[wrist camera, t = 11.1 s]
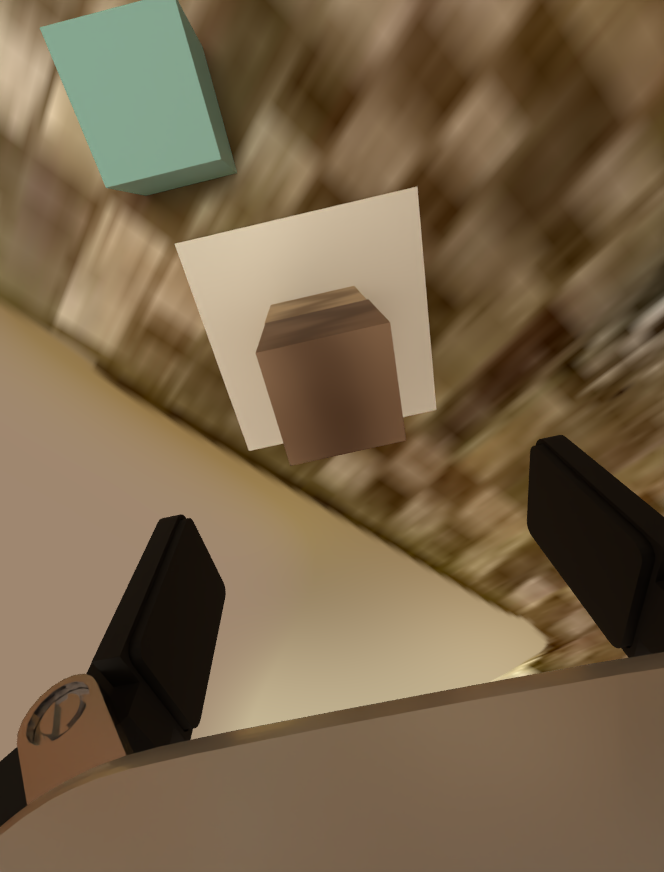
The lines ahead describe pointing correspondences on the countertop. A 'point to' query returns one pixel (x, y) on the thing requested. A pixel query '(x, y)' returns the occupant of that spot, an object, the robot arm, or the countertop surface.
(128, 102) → the teal cube
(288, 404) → the walnut cube
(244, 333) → the plate
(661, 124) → the countertop surface
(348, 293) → the oak cube
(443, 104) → the countertop surface
